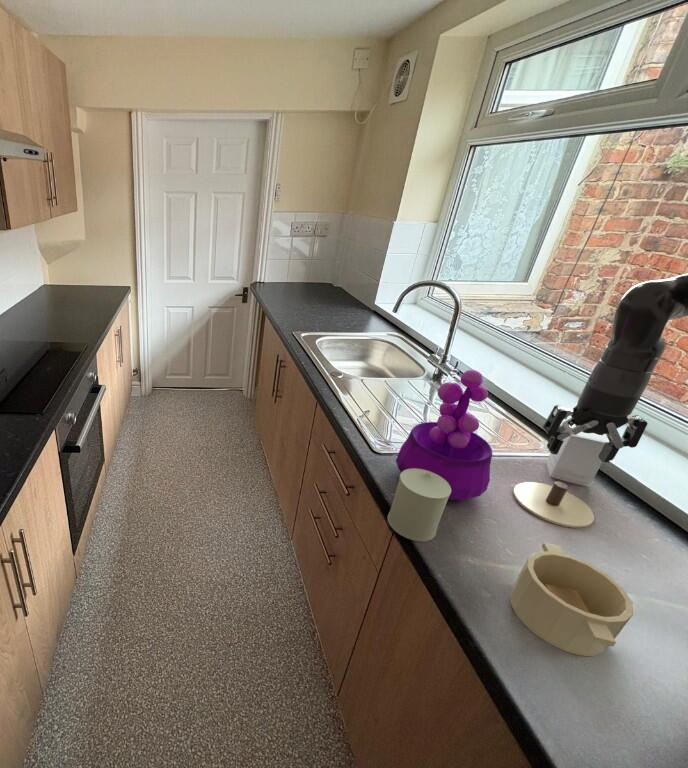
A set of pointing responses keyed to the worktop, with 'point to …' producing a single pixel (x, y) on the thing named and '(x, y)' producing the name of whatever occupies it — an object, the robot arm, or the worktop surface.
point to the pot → (561, 619)
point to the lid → (553, 504)
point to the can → (418, 504)
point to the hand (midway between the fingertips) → (577, 456)
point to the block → (568, 596)
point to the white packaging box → (577, 458)
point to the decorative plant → (452, 441)
